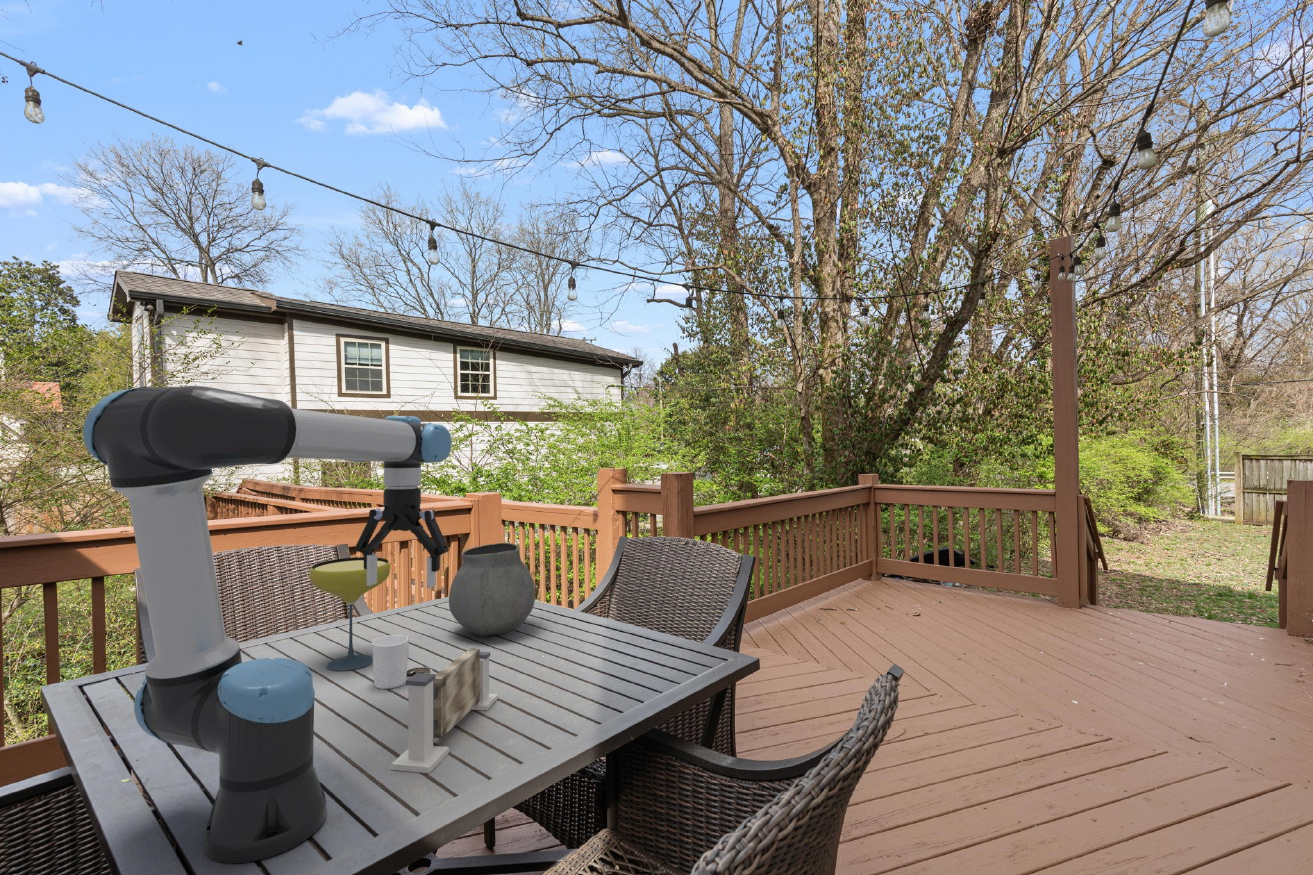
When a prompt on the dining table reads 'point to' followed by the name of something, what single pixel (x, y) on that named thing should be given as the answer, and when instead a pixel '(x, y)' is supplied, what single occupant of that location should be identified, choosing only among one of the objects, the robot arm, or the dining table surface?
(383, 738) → the dining table surface
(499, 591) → the ceramic pot
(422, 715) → the hinge post
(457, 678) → the gate
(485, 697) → the latch post
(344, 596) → the cocktail glass
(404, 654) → the white cup
